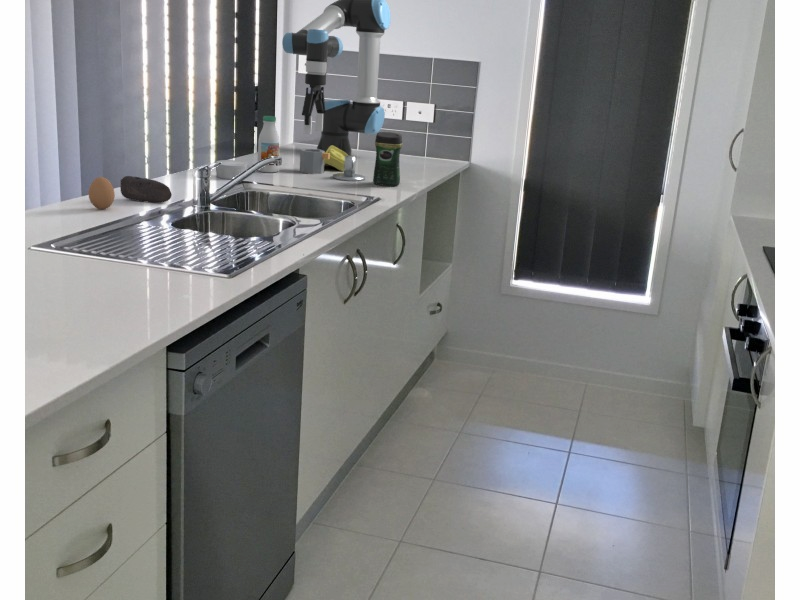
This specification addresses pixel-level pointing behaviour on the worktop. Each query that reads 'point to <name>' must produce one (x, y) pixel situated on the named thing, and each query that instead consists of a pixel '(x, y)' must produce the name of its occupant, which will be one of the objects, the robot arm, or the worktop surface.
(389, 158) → the coffee jar
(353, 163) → the duct stub
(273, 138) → the milk bottle
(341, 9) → the robot arm
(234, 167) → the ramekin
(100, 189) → the egg
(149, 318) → the worktop surface
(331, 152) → the plastic component
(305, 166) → the grey octagonal holder
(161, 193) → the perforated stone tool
